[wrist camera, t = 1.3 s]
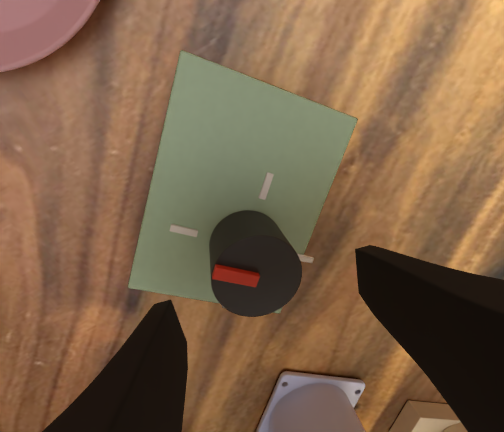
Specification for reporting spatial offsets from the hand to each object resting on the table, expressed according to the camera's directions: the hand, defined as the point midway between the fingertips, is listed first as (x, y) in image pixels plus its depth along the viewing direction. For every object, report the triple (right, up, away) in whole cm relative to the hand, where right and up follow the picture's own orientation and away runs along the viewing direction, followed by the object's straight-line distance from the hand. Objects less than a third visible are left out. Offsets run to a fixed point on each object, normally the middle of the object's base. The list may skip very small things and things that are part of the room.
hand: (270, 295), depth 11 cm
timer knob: (-1, +1, +5) cm, 5 cm away
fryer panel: (-2, +4, +7) cm, 8 cm away
